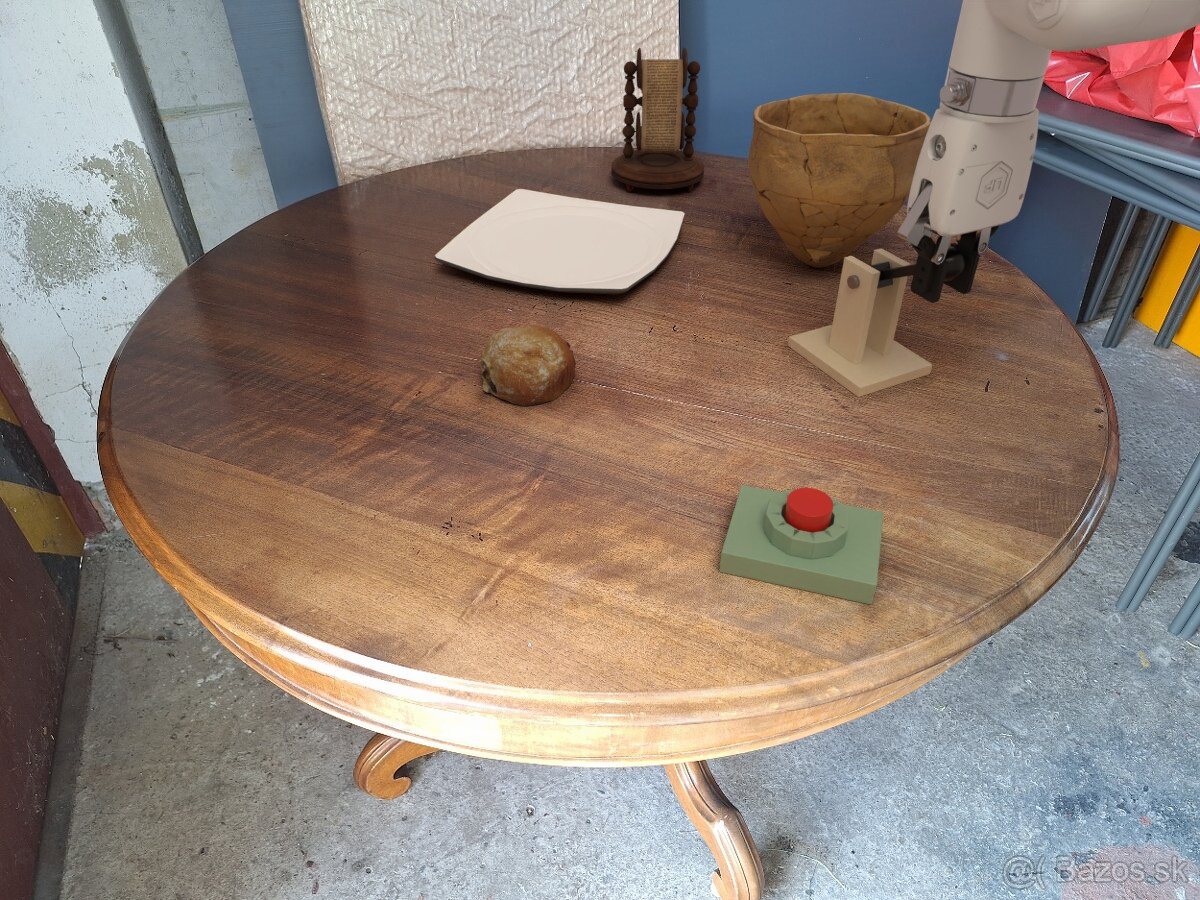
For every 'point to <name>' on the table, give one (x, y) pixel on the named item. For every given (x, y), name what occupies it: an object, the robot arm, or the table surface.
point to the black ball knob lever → (887, 274)
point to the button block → (803, 547)
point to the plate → (564, 243)
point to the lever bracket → (863, 332)
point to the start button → (808, 510)
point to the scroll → (659, 125)
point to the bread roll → (527, 365)
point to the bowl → (833, 169)
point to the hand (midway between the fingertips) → (940, 290)
